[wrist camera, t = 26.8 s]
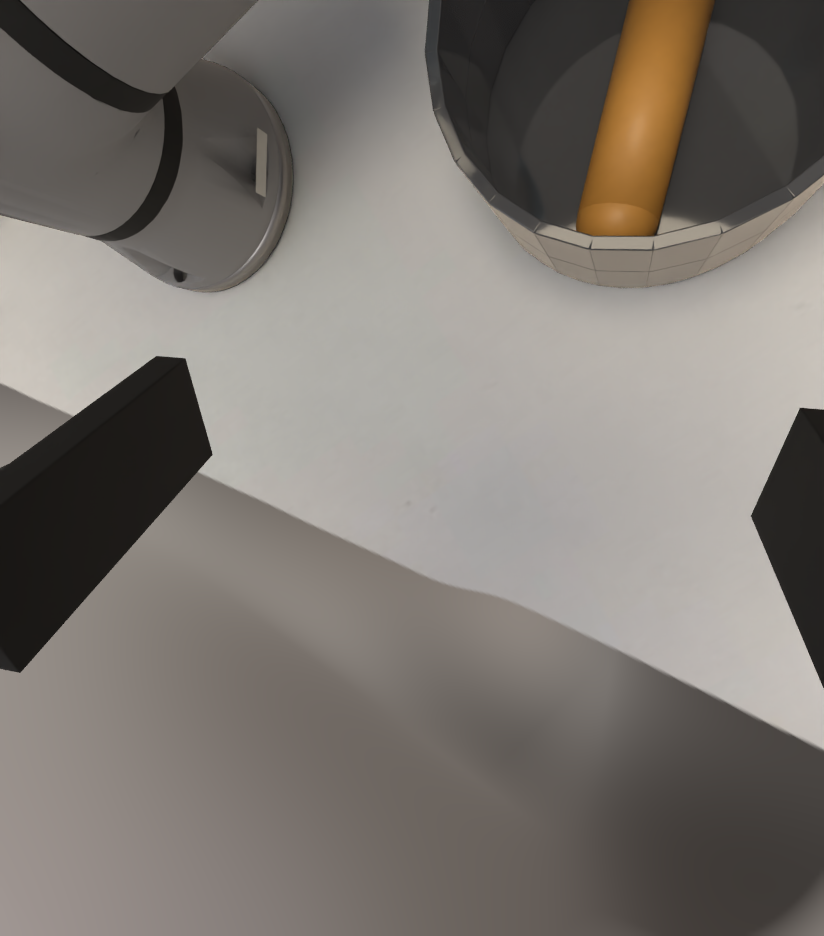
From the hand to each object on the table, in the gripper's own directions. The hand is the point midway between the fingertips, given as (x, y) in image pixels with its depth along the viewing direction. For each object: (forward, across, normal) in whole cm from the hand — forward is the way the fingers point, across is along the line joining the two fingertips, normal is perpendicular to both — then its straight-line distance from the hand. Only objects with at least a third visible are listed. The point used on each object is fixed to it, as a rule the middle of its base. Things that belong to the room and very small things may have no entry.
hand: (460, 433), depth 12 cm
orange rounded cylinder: (+26, +6, +3) cm, 27 cm away
